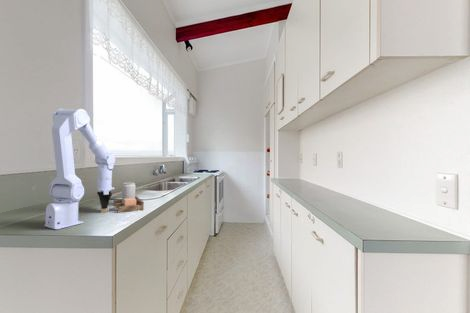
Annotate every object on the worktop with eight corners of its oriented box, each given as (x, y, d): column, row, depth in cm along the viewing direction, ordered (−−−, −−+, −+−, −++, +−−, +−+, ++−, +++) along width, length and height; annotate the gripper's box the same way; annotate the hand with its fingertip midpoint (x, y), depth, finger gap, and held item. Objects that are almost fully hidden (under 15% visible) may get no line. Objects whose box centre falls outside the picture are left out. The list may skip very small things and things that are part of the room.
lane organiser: (118, 212, 106) (118, 204, 106) (113, 204, 121) (113, 197, 121) (143, 210, 112) (143, 202, 112) (135, 202, 127) (135, 195, 127)
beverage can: (137, 204, 123) (138, 182, 123) (130, 207, 117) (131, 183, 117) (126, 203, 124) (126, 181, 124) (119, 206, 118) (119, 183, 118)
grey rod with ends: (100, 213, 104) (101, 200, 104) (100, 210, 108) (100, 198, 108) (136, 209, 112) (136, 197, 112) (134, 207, 116) (134, 195, 116)
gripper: (116, 180, 103) (115, 210, 103) (112, 176, 115) (111, 203, 115) (98, 180, 99) (97, 211, 99) (96, 177, 111) (95, 205, 111)
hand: (104, 207), depth 107 cm, fingers closed on grey rod with ends, 3 cm apart
